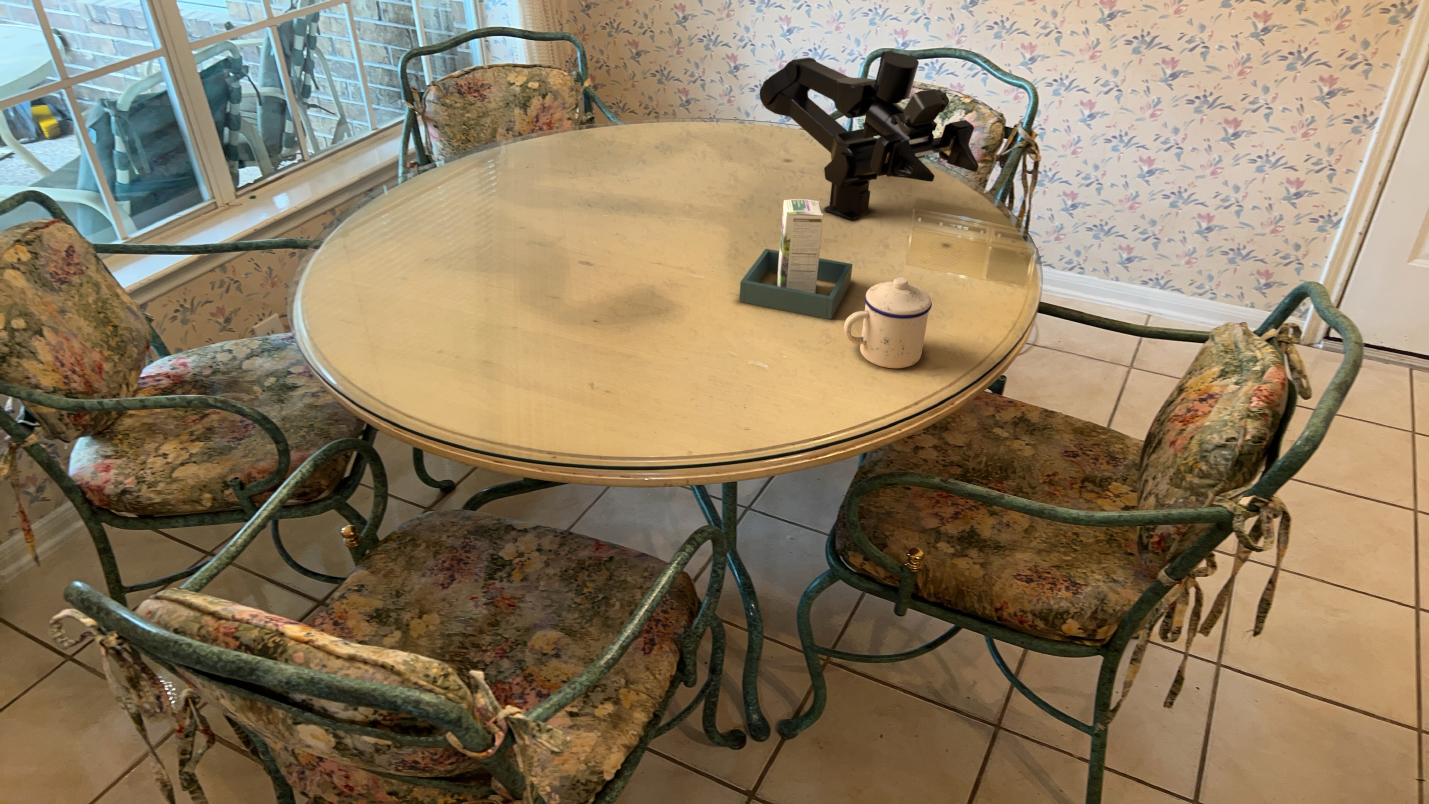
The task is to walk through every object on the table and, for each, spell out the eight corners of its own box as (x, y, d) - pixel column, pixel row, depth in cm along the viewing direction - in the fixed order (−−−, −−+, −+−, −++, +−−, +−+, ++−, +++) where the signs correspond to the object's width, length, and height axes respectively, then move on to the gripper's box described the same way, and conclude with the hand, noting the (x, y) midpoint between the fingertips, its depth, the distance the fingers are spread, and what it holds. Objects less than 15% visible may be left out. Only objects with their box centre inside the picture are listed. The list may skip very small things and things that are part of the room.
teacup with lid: (906, 333, 133) (917, 261, 126) (933, 366, 126) (947, 292, 119) (829, 343, 130) (837, 270, 124) (853, 377, 123) (862, 302, 116)
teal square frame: (764, 267, 150) (765, 248, 148) (850, 283, 146) (852, 263, 143) (739, 301, 140) (740, 281, 138) (830, 319, 136) (833, 299, 134)
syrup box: (776, 283, 145) (781, 198, 137) (812, 284, 145) (820, 198, 137) (778, 301, 140) (784, 213, 132) (816, 301, 140) (824, 214, 132)
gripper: (862, 87, 141) (924, 136, 132) (952, 73, 149) (1016, 118, 140) (847, 151, 149) (904, 201, 140) (933, 134, 157) (992, 180, 148)
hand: (955, 173), depth 142 cm, fingers open, 9 cm apart
